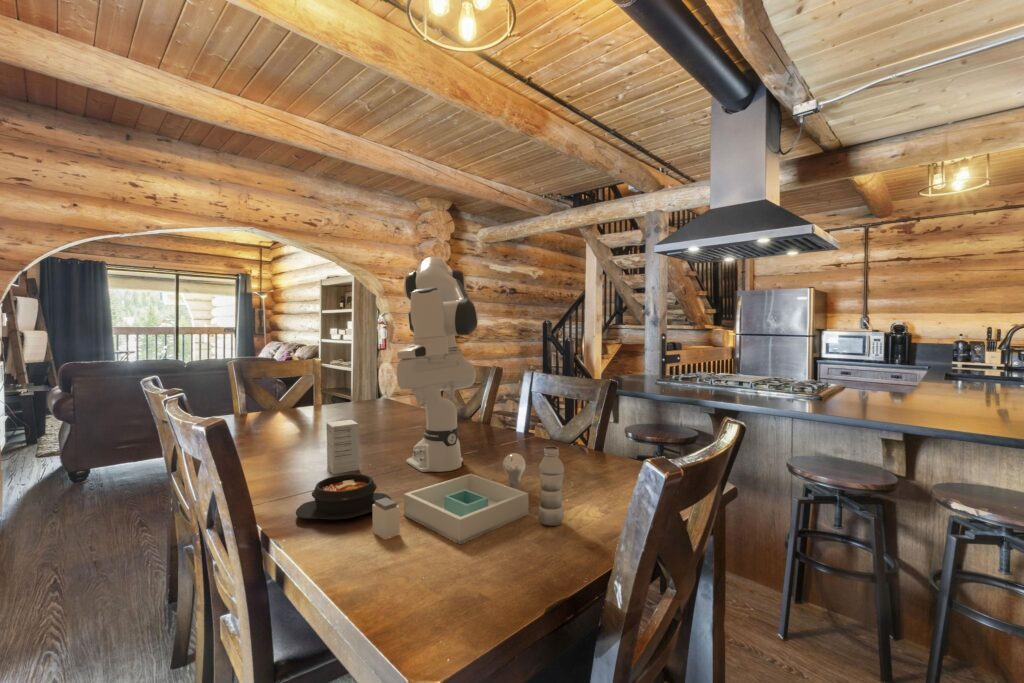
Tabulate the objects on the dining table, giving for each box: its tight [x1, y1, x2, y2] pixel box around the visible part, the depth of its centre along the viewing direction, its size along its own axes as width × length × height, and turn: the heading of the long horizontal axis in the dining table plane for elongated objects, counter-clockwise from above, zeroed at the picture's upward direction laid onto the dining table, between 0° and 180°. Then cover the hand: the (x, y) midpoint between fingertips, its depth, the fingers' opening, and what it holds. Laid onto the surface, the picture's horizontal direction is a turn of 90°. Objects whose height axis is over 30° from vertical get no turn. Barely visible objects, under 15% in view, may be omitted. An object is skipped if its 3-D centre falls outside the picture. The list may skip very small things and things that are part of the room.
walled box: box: [403, 473, 529, 545], centre depth 126 cm, size 24×24×6 cm
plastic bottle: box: [537, 445, 565, 527], centre depth 120 cm, size 6×7×20 cm
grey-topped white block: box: [371, 498, 401, 540], centre depth 115 cm, size 6×4×8 cm, turn 46°
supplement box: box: [325, 419, 360, 475], centre depth 166 cm, size 10×9×17 cm
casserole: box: [295, 473, 392, 521], centre depth 128 cm, size 25×19×8 cm
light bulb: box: [502, 452, 526, 490], centre depth 143 cm, size 7×7×12 cm
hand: (436, 401), depth 120 cm, fingers open, 8 cm apart
